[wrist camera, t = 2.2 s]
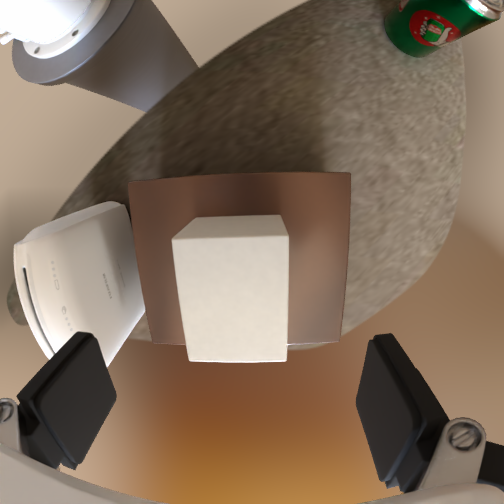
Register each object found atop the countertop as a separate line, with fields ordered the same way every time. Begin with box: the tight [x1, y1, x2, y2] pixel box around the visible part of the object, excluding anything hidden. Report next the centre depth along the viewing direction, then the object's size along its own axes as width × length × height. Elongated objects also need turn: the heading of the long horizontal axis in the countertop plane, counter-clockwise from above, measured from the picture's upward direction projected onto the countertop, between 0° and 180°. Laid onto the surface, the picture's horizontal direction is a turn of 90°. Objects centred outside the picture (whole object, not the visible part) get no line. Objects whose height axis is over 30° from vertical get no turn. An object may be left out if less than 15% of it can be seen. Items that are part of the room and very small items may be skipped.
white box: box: [172, 215, 289, 362], centre depth 16 cm, size 5×6×5 cm
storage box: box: [128, 172, 351, 345], centre depth 21 cm, size 13×11×6 cm
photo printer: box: [14, 201, 145, 367], centre depth 18 cm, size 10×4×12 cm, turn 8°
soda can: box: [384, 0, 504, 57], centre depth 12 cm, size 5×5×12 cm
